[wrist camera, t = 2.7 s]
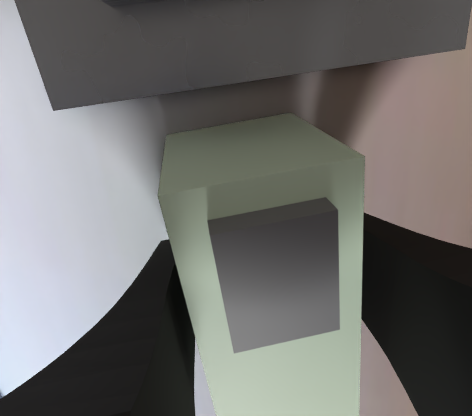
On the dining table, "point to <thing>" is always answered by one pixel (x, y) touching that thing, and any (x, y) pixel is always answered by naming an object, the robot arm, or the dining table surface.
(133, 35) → the chassis
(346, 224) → the pale green block
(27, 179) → the dining table surface
